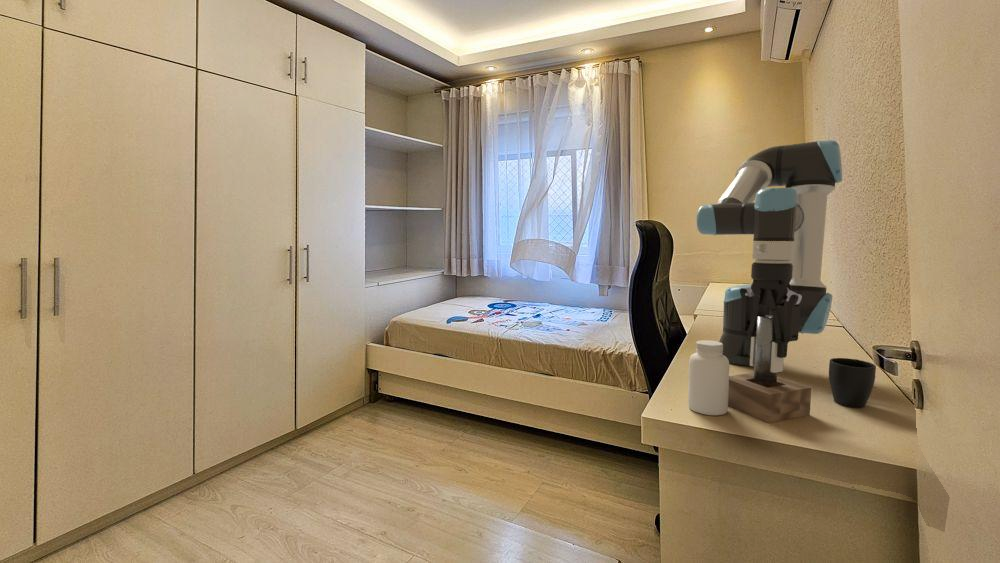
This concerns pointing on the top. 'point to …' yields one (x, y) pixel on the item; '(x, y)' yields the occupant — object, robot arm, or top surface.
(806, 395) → the socket block
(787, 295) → the robot arm
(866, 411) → the top surface
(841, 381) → the mug
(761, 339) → the peg
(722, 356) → the pill bottle
